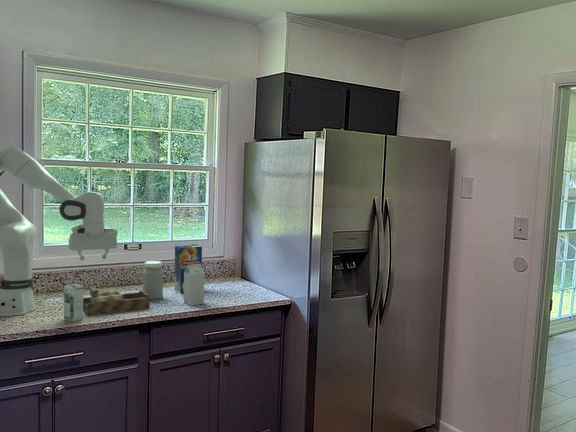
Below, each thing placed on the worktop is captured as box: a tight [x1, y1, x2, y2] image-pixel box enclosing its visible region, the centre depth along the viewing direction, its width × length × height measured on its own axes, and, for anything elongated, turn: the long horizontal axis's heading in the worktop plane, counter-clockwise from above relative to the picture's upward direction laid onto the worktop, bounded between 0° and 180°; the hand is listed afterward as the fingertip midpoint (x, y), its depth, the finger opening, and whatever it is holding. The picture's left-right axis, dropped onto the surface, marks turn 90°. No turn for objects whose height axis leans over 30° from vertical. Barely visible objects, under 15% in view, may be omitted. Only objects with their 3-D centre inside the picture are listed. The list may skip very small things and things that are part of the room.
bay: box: [83, 289, 150, 317], centre depth 238 cm, size 27×12×6 cm, turn 124°
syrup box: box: [63, 283, 84, 323], centre depth 219 cm, size 6×6×14 cm
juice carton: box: [174, 244, 203, 295], centre depth 274 cm, size 12×8×24 cm, turn 128°
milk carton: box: [183, 264, 205, 306], centre depth 251 cm, size 7×7×19 cm
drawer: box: [89, 286, 124, 303], centre depth 235 cm, size 13×9×9 cm
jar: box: [142, 260, 164, 301], centre depth 258 cm, size 10×10×18 cm
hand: (93, 259), depth 232 cm, fingers open, 8 cm apart
